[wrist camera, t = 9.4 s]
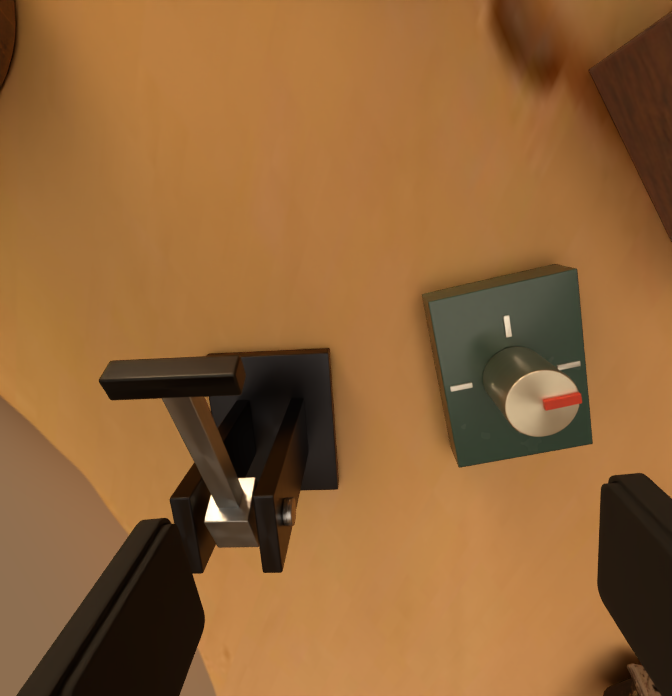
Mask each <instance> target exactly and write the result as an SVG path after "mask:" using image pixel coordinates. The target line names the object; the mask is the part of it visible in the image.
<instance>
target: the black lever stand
mask: <svg viewBox="0 0 672 696" xmlns="http://www.w3.org/2000/svg"><path fill="white" fill-rule="evenodd" d="M226 355H240V357H241V360H242V363H243V367H244V370H245V373H246V377H245V381H244V385H243V389H242V393H241V395H234V396H209V401H210V407H211V414H212V417H213V419H214V421H215V424H216V426H217V429H218V431H219V433H220V436H221V438H222V441H223V443H224V446H225V448H226V450H227V453H228V455H229V458H230V460H231V462H232V465H233V467H234V470H235V472H236V475H237V477H238V478H252V477H255V478H256V480H257V482H258V485H257V487H256V490H255V493H254V495H253V502H254V510H255V517H256V525H257V532H258V539H259V547H260V554H261V562H262V569H263V572H264V573H281V572H282V571H283V567H284V562H285V558H286V553H287V549H288V544H289V539H290V535H291V530H292V526H294V524H295V519H296V508H297V503H298V498H299V494H300V490H334V489H338V485H339V475H338V461H337V446H336V432H335V418H334V404H333V389H332V375H331V361H330V349H329V348H327V349H305V350H283V351H261V352H239V353H218V354H208V355H207V356H226ZM210 496H211V493H210V491H209V490H208V488H207V486H206V484H205V482H204V480H203V478H202V476H201V474H200V472H199V470H198V468H197V466H196V464H195V462H194V464H193V465H192V467H191V468H190V470H189V471H188V472H187V474H186V475H185V477H184V478H183V480H182V481H181V483H180V484H179V486H178V487H177V489H176V490H175V492H174V493H173V494H172V496H171V497H170V504H171V509H172V514H173V519H174V524H176V525H177V527H178V529H179V532H180V536H181V539H182V542H183V545H184V549H185V552H186V555H187V558H188V562H189V565H190V568H191V571H192V573H203V572H204V570H205V567H206V565H207V563H208V561H209V558H210V556H211V554H212V552H213V549H214V547H215V545H216V542H215V541H214V539H213V537H212V536H211V534H210V532H209V530H208V529H207V527H206V525H205V523H204V519H205V515H206V511H207V507H208V503H209V499H210Z"/></svg>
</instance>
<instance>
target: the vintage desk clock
mask: <svg viewBox="0 0 672 696" xmlns="http://www.w3.org/2000/svg"><path fill="white" fill-rule="evenodd" d="M627 668H628V670H629V672H630V674H631V676H632V678H630V679H628V680H625V681H622V682H620V683H617V684H615V685H613V686H610V687H608V688H607V689H606V690H605V691H604V694H603V696H661V695H660V693H659V691H658V690H657V688H656V687H655V685H654V683H653V682H652V680H651V679H650V677H649V675H648V674H647V672H646V671H645V669H644V667H643V666H642V665H637V664H633V663H632V664H628V665H627Z"/></svg>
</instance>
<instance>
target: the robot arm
mask: <svg viewBox="0 0 672 696" xmlns="http://www.w3.org/2000/svg"><path fill="white" fill-rule="evenodd" d="M597 584H598V591H599V594H600V597H601V599H602V601H603V603H604V605H605V607H606V608H607V610H608V611H609V613H610V615H611V616H612V618H613V619H614V621H615V623H616V624H617V626H618V627H619V629H620V631H621V632H622V634H623V635H624V637H625V639H626V640H627V642H628V643H629V645H630V647H631V648H632V650H633V651H634V653H635V655H636V656H637V658H638V659H639V661H640V663H641V664H642V666H643V667H644V669H645V671H646V672H647V674H648V675H649V677H650V679H651V680H652V682H653V683H654V685H655V687H656V688H657V690H658V691H659V693H660V695H661V696H672V499H671V498H670V497H669V496H668V495H667V494H666V493H665V492H664V491H663V490H662V489H660V488H659V487H658V486H657V485H656V484H655V483H654V482H653V481H652V480H651V479H650V478H648V477H647V476H646V475H644V474H642V473H635V474H625V475H614V476H611V477H610V478H609V481H608V483H607V484H603V485H602V487H601V501H600V527H599V553H598V579H597ZM204 623H205V615H204V610H203V607H202V604H201V601H200V597H199V594H198V591H197V588H196V584H195V581H194V578H193V575H192V571H191V568H190V565H189V562H188V558H187V555H186V552H185V549H184V545H183V542H182V539H181V536H180V532H179V529H178V527H177V525H176V524H171V522H170V520H169V519H167V518H160V519H149V520H142V521H140V522H139V523H138V524H137V525H136V527H135V528H134V529H133V531H132V532H131V534H130V535H129V536H128V538H127V539H126V541H125V542H124V544H123V545H122V546H121V548H120V549H119V551H118V552H117V553H116V555H115V556H114V558H113V559H112V561H111V562H110V563H109V565H108V566H107V568H106V569H105V571H104V572H103V573H102V575H101V576H100V578H99V579H98V581H97V582H96V583H95V585H94V586H93V588H92V589H91V591H90V592H89V593H88V595H87V596H86V598H85V599H84V600H83V602H82V603H81V605H80V606H79V608H78V609H77V610H76V612H75V613H74V615H73V616H72V617H71V619H70V620H69V622H68V623H67V625H66V626H65V627H64V629H63V630H62V632H61V633H60V635H59V636H58V637H57V639H56V640H55V642H54V643H53V644H52V646H51V647H50V649H49V650H48V651H47V653H46V654H45V656H44V657H43V658H42V660H41V661H40V663H39V664H38V666H37V667H36V668H35V670H34V671H33V673H32V674H31V676H30V677H29V678H28V680H27V681H26V683H25V684H24V686H23V687H22V688H21V690H20V691H19V693H18V694H17V696H179V695H180V692H181V689H182V687H183V684H184V681H185V679H186V676H187V673H188V670H189V667H190V665H191V662H192V659H193V657H194V654H195V651H196V649H197V646H198V643H199V641H200V638H201V635H202V632H203V629H204Z"/></svg>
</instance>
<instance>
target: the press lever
mask: <svg viewBox="0 0 672 696" xmlns="http://www.w3.org/2000/svg"><path fill="white" fill-rule="evenodd" d="M245 377H246V373H245V370H244V367H243V363H242V360H241V357H240V355H226V356H204V357H182V358H160V359H138V360H116V361H110V362H109V364H108V366H107V367H106V369H105V370H104V372H103V374H102V375H101V377H100V379H99V383H100V384H101V386H102V387H103V389H104V391H105V392H106V394H107V395H108V397H109V398H110V399H111V400H131V399H157V398H162V400H163V402H164V404H165V406H166V408H167V409H168V411H169V413H170V415H171V417H172V419H173V421H174V423H175V425H176V427H177V429H178V431H179V433H180V435H181V437H182V439H183V441H184V443H185V445H186V447H187V449H188V450H189V452H190V454H191V456H192V458H193V460H194V462H195V464H196V466H197V468H198V470H199V472H200V474H201V476H202V478H203V480H204V482H205V484H206V486H207V488H208V490H209V491H210V493H211V496H210V499H209V503H208V507H207V511H206V515H205V519H204V523H205V525H206V527H207V529H208V530H209V532H210V534H211V536H212V537H213V539H214V541H215V542H216V544H217V546H218V547H219V548H221V547H259V539H258V532H257V525H256V517H255V510H254V502H253V495H254V493H255V490H256V487H257V485H258V482H257V480H256V478H255V477H252V478H238V477H237V475H236V472H235V470H234V467H233V465H232V462H231V460H230V458H229V455H228V453H227V450H226V448H225V446H224V443H223V441H222V438H221V436H220V433H219V431H218V429H217V426H216V424H215V421H214V419H213V417H212V414H211V412H210V409H209V407H208V405H207V402H206V400H205V397H208V396H234V395H241V393H242V389H243V385H244V381H245Z"/></svg>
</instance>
